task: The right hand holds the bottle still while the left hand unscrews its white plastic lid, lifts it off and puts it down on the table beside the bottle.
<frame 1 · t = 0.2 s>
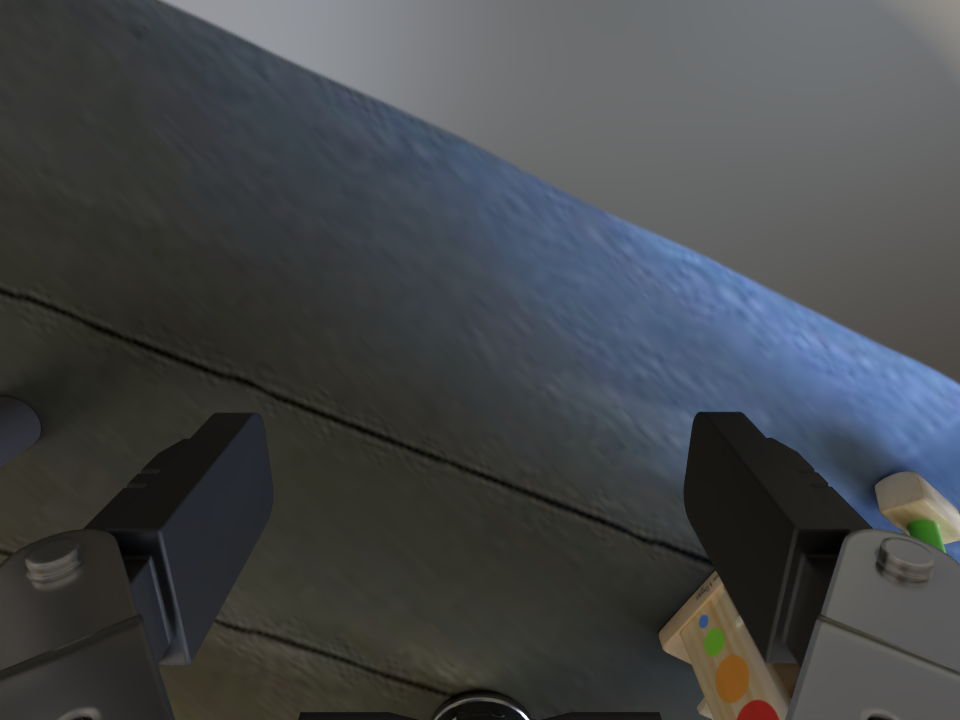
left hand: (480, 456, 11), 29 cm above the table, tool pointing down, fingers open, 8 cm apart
pounding bench toy: (809, 574, 49), on the table
bottle: (11, 422, 44), on the table
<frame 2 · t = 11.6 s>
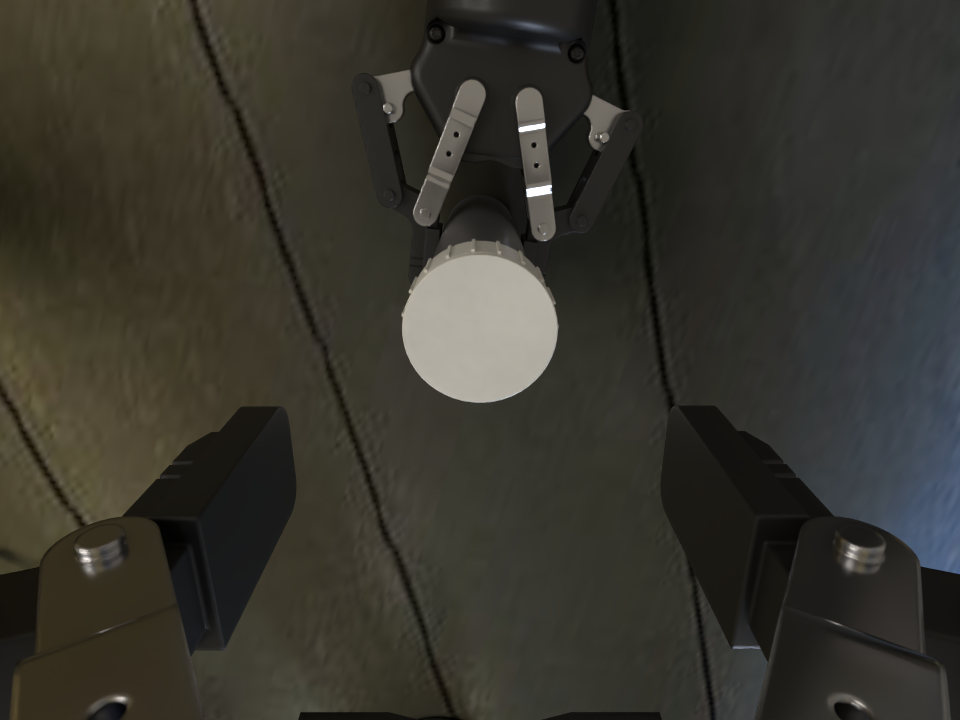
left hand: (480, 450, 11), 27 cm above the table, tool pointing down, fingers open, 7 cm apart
right hand: (474, 300, 32), fingers closed on bottle, 4 cm apart
bottle: (480, 229, 37), on the table, touching right hand
lid: (479, 328, 19), point 20 cm above the table, screwed on, not yet turned
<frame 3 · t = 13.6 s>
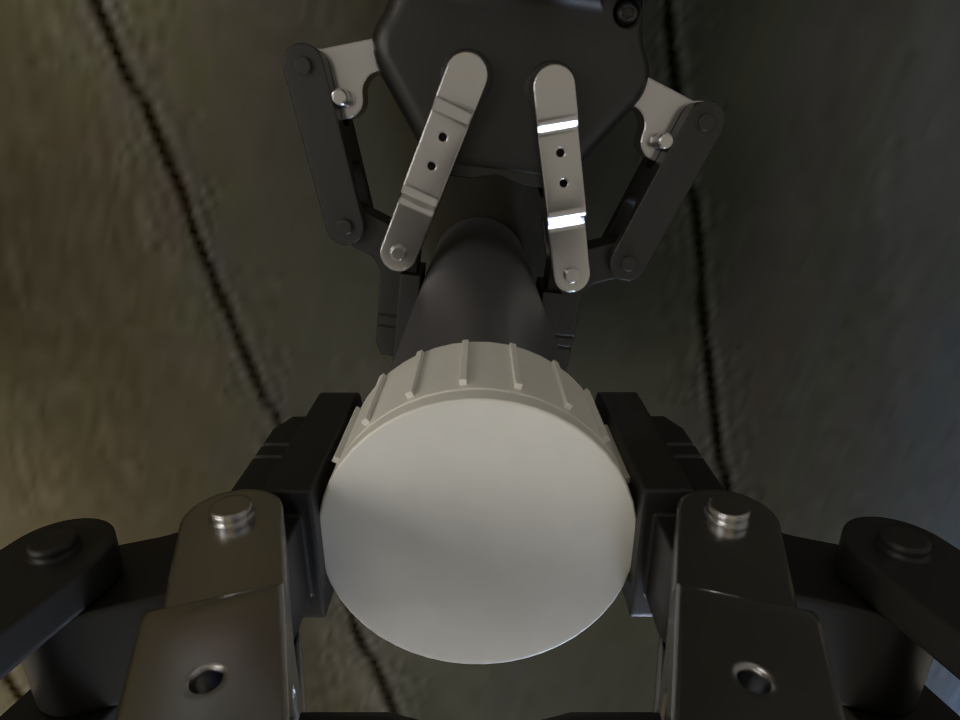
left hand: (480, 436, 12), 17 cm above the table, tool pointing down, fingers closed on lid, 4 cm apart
right hand: (470, 370, 23), fingers closed on bottle, 4 cm apart
bottle: (479, 263, 28), on the table, touching right hand
lid: (477, 530, 9), point 20 cm above the table, screwed on, not yet turned, touching left hand
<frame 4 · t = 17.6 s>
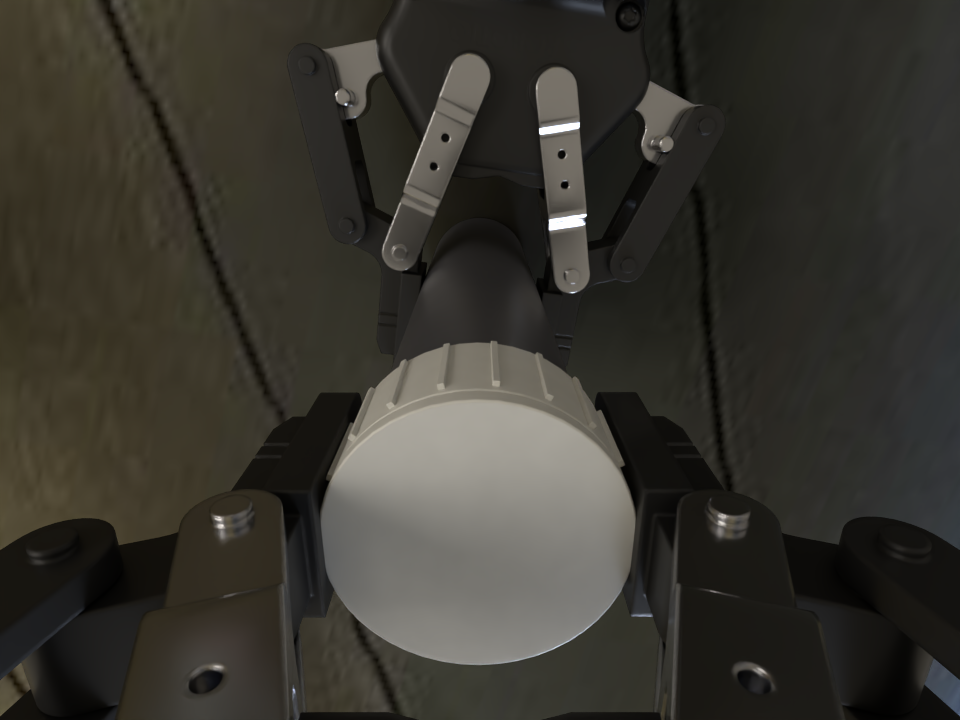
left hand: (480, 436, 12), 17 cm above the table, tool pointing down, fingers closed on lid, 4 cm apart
right hand: (470, 370, 23), fingers closed on bottle, 4 cm apart
bottle: (479, 263, 28), on the table, touching right hand
lid: (478, 530, 9), point 20 cm above the table, turned 103° so far, risen 0.1 cm, still on its thread, touching left hand
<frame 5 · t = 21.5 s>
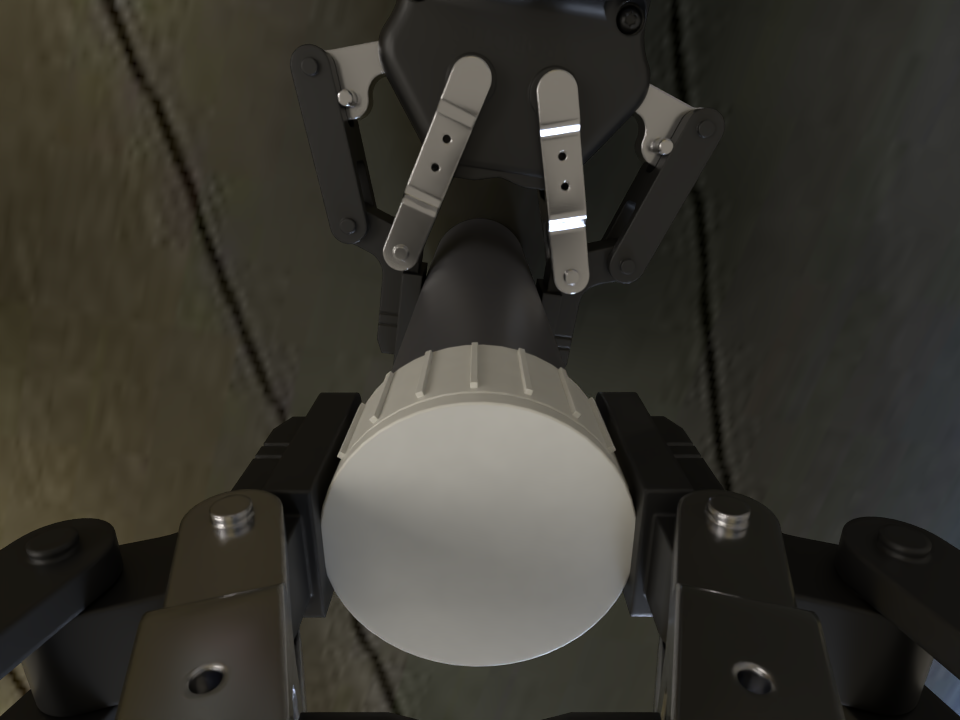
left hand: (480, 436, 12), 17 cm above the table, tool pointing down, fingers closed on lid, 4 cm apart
right hand: (470, 370, 23), fingers closed on bottle, 4 cm apart
bottle: (479, 264, 28), on the table, touching right hand
lid: (478, 532, 9), point 20 cm above the table, turned 206° so far, risen 0.2 cm, still on its thread, touching left hand
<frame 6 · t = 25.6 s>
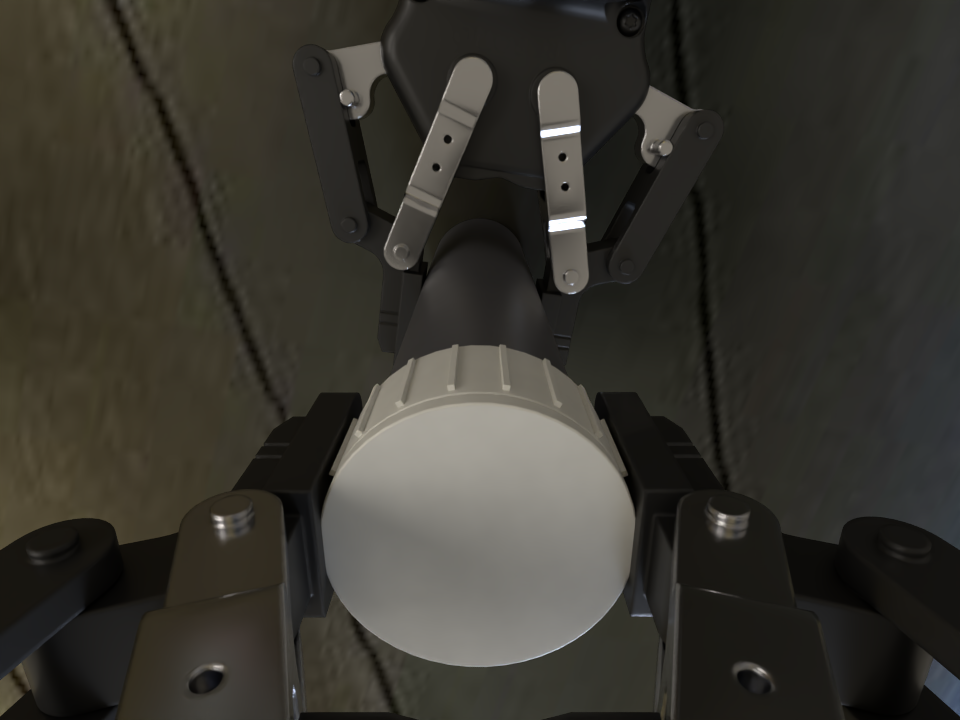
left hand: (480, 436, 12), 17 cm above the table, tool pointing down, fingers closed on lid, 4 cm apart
right hand: (469, 369, 23), fingers closed on bottle, 4 cm apart
bottle: (479, 264, 28), on the table, touching right hand
lid: (478, 533, 9), point 20 cm above the table, turned 309° so far, risen 0.4 cm, still on its thread, touching left hand
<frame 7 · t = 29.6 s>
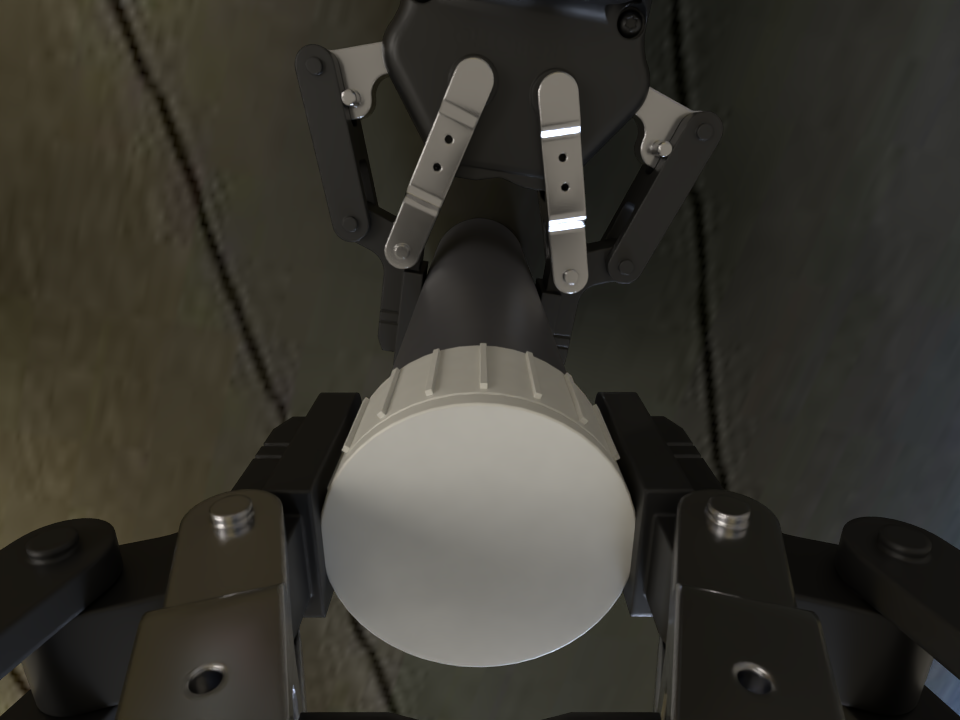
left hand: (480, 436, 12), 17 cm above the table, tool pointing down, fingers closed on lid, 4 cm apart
right hand: (469, 368, 23), fingers closed on bottle, 4 cm apart
bottle: (479, 263, 28), on the table, touching right hand
lid: (478, 533, 9), point 20 cm above the table, turned 412° so far, risen 0.5 cm, still on its thread, touching left hand
when the left hand's fingers open (1 cm above the table, at t = 36.6 s): lid drops 2 cm, point 2 cm above the table.
when the right hand's fingers open (7 cm above the table, at t = 37.6 s): bottle stays where it is, on the table.
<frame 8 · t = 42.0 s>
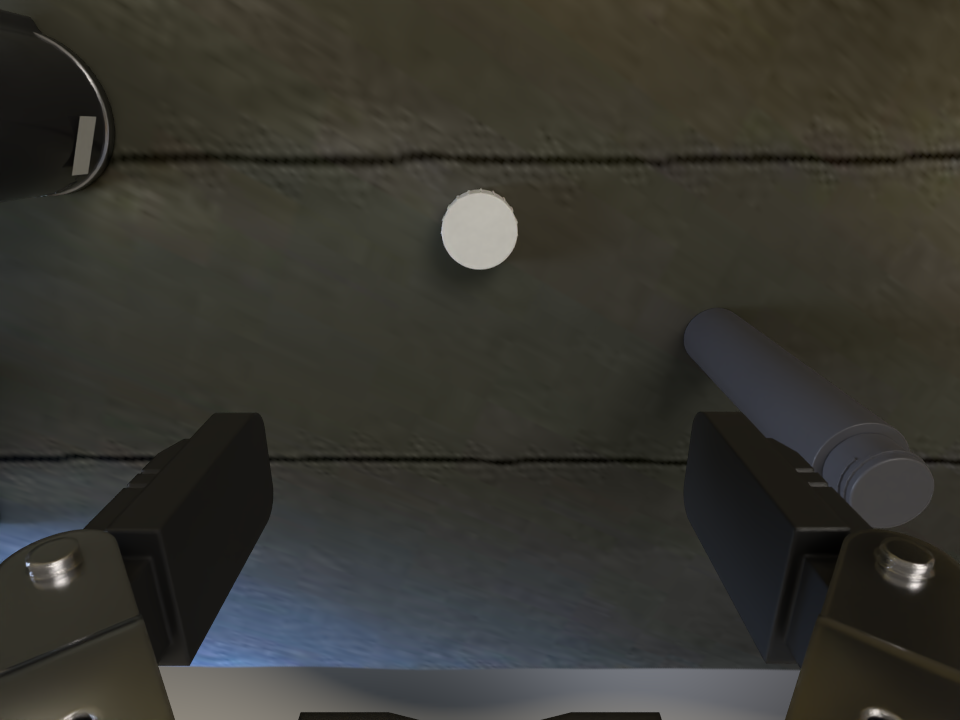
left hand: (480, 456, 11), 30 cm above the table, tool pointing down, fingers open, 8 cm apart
bottle: (713, 336, 42), on the table
lid: (479, 231, 38), point 2 cm above the table, off its thread
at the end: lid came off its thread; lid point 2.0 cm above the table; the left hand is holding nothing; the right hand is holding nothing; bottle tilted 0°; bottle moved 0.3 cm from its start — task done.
